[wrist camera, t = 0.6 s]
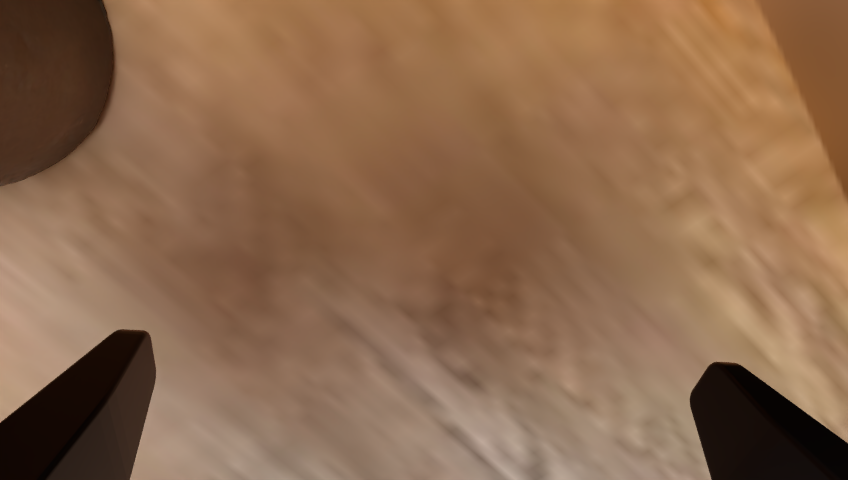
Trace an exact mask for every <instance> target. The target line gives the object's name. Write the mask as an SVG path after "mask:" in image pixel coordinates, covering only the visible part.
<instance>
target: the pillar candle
mask: <svg viewBox="0 0 848 480" xmlns="http://www.w3.org/2000/svg"><path fill="white" fill-rule="evenodd" d="M112 60H113V52H112V38H111V30H110V26H109V22H108V21H107V18H106V11H105V8H104V6H103V3H102V1H101V0H0V186H4V185H6V184H9V183H15V182H18V181H20V180H24V179H26V178H28V177H30V176H32V175H35V174H37V173H38V172H40V171H42V170H44V169H46V168H48V167H50V166H52V165H53V164H55V163H57V162H58V161H60V160H61V159H63V158H64V157H66V156H67V155H68V154H69V153H70V152H72V151H73V150H74V149H75V148H76V147H77V146H78V145H79V144H80V143H81V142H82V141H83V139H84V138H85V137H86V136H87V135H88V134H89V132H90V131H92V130H93V129H94V127H95V125H96V124H97V121H98V117H99V115H100V113H101V111H102V109H103V106H104V103H105V101H106V97H107V93H108V89H109V85H110V80H111V73H112Z"/></svg>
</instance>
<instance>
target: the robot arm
mask: <svg viewBox="0 0 848 480" xmlns="http://www.w3.org/2000/svg"><path fill="white" fill-rule="evenodd" d="M155 379H156V367H155V361H154V354H153V348H152V342H151V337H150V335H149V333H148V332H146V331H143V330H125V329H121V330H117V331H115V332H113V333H112V334H111V335H109V336H108V337H107V338H106V339H104V340H103V341H102V342H101V343H99V344H98V345H97V346H96V347H94V348H93V349H92V350H91V351H89V352H88V353H87V354H86V355H84V356H83V357H82V358H81V359H79V360H78V361H77V362H76V363H74V364H73V365H72V366H71V367H69V368H68V369H67V370H66V371H64V372H63V373H62V374H61V375H59V376H58V377H57V378H56V379H54V380H53V381H52V382H51V383H49V384H48V385H47V386H46V387H44V388H43V389H42V390H41V391H39V392H38V393H37V394H36V395H34V396H33V397H32V398H31V399H29V400H28V401H27V402H26V403H24V404H23V405H22V406H21V407H19V408H18V409H17V410H16V411H14V412H13V413H12V414H11V415H9V416H8V417H7V418H5V419H4V420H3V421H2V422H0V480H130V476H131V473H132V469H133V465H134V462H135V458H136V454H137V450H138V446H139V442H140V439H141V435H142V431H143V427H144V423H145V419H146V415H147V412H148V408H149V404H150V400H151V396H152V392H153V388H154V384H155ZM690 407H691V411H692V414H693V417H694V421H695V424H696V428H697V431H698V434H699V438H700V441H701V445H702V448H703V451H704V455H705V458H706V462H707V465H708V469H709V472H710V475H711V479H712V480H848V443H847V442H845V441H844V440H842V439H841V438H840V437H838V436H837V435H836V434H834V433H833V432H832V431H830V430H829V429H827V428H826V427H825V426H823V425H822V424H821V423H819V422H818V421H816V420H815V419H814V418H812V417H811V416H810V415H808V414H807V413H806V412H804V411H803V410H801V409H800V408H799V407H797V406H796V405H795V404H793V403H792V402H791V401H789V400H788V399H786V398H785V397H784V396H782V395H781V394H780V393H778V392H777V391H775V390H774V389H773V388H771V387H770V386H769V385H767V384H766V383H765V382H763V381H762V380H760V379H759V378H758V377H756V376H755V375H754V374H752V373H751V372H750V371H748V370H747V369H745V368H744V367H743V366H741V365H739V364H737V363H729V362H714V363H712V364H710V365H709V366H708V368H707V369H706V371H705V372H704V374H703V375H702V377H701V378H700V380H699V381H698V383H697V384H696V386H695V387H694V389H693V390H692V392H691V395H690Z"/></svg>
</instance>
